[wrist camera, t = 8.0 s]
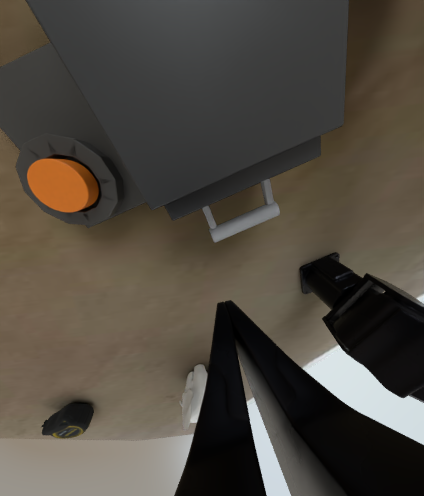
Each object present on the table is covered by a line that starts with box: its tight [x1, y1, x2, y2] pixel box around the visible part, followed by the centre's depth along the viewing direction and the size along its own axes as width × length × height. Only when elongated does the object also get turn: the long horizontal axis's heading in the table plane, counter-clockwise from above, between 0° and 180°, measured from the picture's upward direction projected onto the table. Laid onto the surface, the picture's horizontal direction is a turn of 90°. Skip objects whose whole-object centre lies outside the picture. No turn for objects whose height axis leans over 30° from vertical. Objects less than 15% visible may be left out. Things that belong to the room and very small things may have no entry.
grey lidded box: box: [26, 0, 349, 210], centre depth 9 cm, size 14×12×9 cm
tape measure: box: [42, 403, 94, 438], centre depth 32 cm, size 7×7×4 cm
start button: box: [27, 159, 99, 212], centre depth 12 cm, size 4×4×2 cm
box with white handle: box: [164, 136, 321, 243], centre depth 11 cm, size 17×10×7 cm, turn 21°
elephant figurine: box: [179, 364, 208, 430], centre depth 32 cm, size 10×12×9 cm
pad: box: [0, 43, 146, 228], centre depth 13 cm, size 11×9×4 cm
